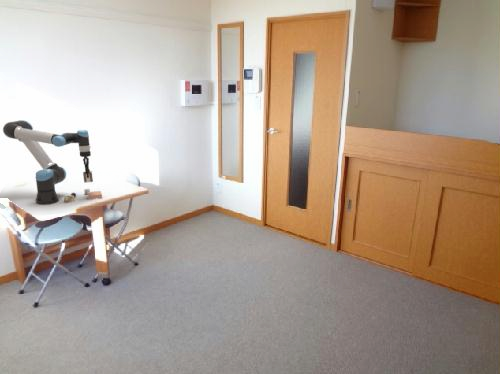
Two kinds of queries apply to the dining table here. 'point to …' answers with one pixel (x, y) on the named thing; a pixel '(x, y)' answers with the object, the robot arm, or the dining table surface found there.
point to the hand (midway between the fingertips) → (88, 180)
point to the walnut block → (90, 176)
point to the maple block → (69, 198)
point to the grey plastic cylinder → (86, 191)
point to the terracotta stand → (94, 195)
